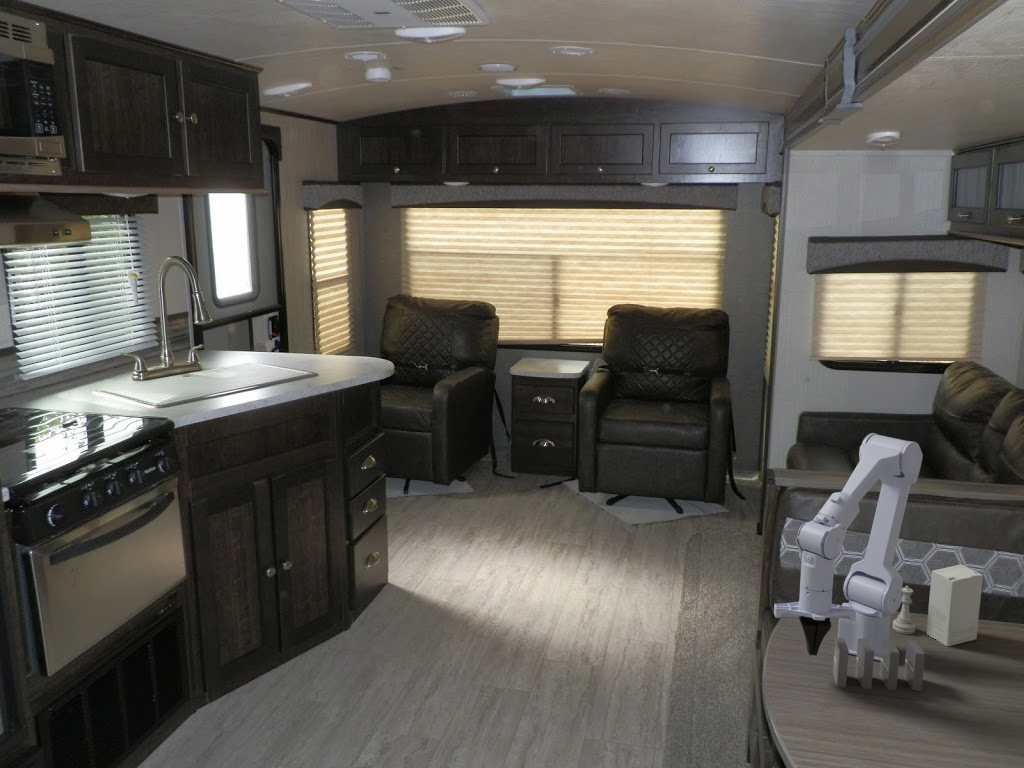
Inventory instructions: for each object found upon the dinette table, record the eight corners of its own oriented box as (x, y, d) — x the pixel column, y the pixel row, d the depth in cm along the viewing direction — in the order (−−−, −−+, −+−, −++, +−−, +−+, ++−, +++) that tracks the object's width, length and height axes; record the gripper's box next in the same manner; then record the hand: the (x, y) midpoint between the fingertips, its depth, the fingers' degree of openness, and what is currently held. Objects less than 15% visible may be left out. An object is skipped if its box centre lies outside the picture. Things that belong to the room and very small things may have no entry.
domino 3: (887, 689, 164) (890, 652, 163) (878, 675, 169) (881, 639, 168) (896, 689, 164) (899, 652, 163) (888, 676, 169) (891, 639, 167)
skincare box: (954, 628, 188) (961, 562, 185) (978, 641, 182) (985, 573, 179) (924, 635, 185) (930, 568, 182) (947, 648, 179) (953, 579, 177)
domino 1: (836, 686, 165) (839, 649, 164) (832, 673, 170) (834, 637, 169) (846, 687, 165) (849, 650, 163) (841, 674, 170) (844, 638, 168)
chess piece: (913, 636, 184) (917, 591, 182) (890, 631, 187) (894, 587, 185) (916, 628, 188) (920, 584, 186) (894, 623, 190) (897, 580, 188)
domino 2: (862, 688, 165) (865, 651, 163) (854, 674, 169) (857, 638, 168) (871, 688, 164) (874, 651, 163) (864, 675, 169) (866, 638, 168)
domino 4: (912, 690, 164) (915, 653, 162) (903, 676, 169) (906, 640, 167) (921, 691, 164) (925, 653, 162) (912, 677, 168) (915, 640, 167)
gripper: (780, 593, 161) (776, 661, 164) (862, 596, 160) (857, 665, 162) (773, 577, 168) (769, 643, 171) (852, 580, 167) (847, 646, 169)
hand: (812, 652), depth 167 cm, fingers closed
